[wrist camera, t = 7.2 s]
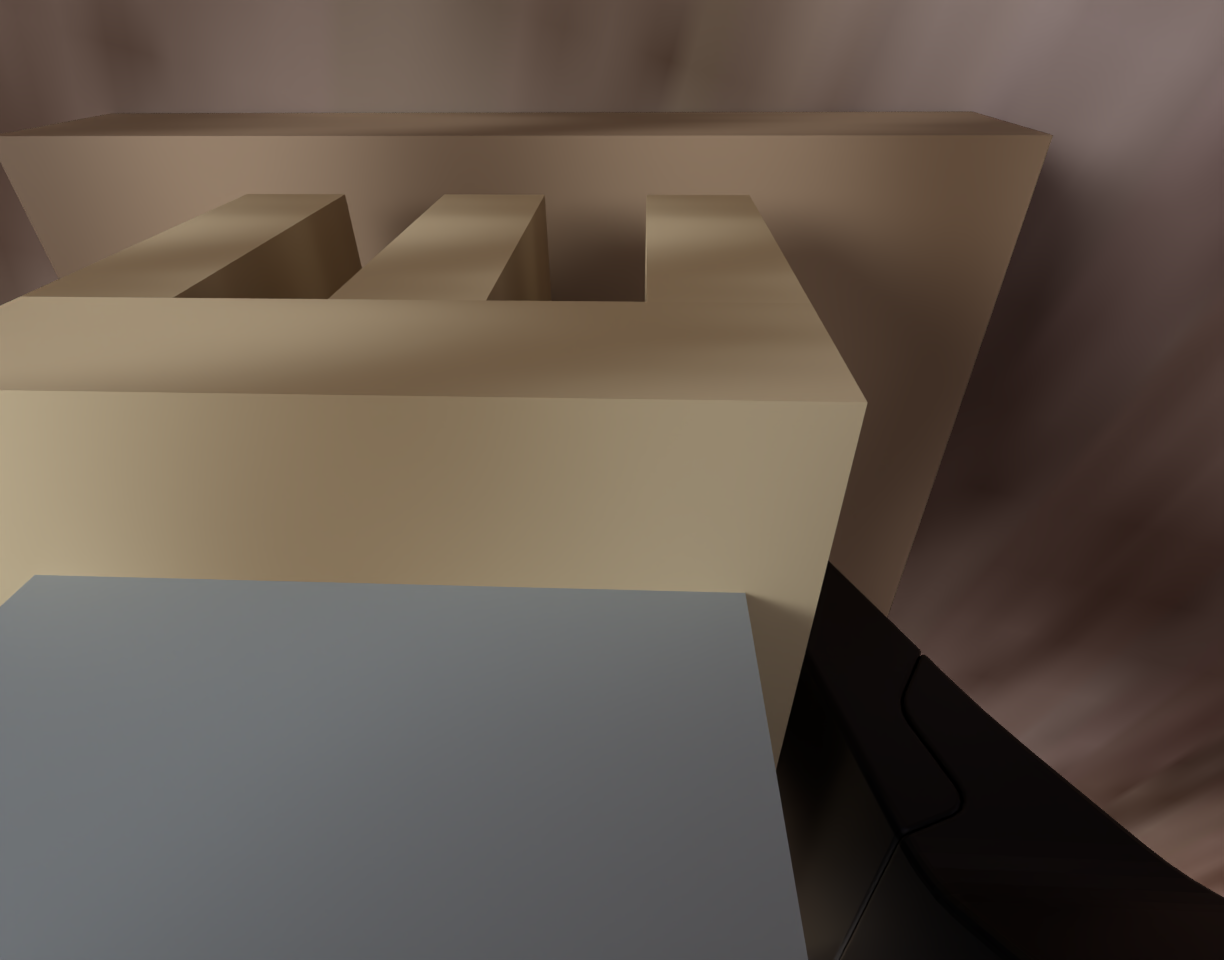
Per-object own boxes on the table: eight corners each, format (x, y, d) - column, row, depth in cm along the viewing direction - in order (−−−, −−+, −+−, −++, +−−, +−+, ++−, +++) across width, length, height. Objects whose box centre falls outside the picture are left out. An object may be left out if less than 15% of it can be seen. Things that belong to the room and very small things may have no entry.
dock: (972, 111, 10) (1053, 135, 8) (853, 543, 16) (885, 623, 14) (111, 113, 11) (-12, 136, 9) (275, 531, 16) (222, 606, 14)
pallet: (749, 195, 8) (867, 401, 4) (700, 649, 12) (727, 964, 8) (246, 193, 8) (-180, 387, 4) (385, 640, 13) (260, 942, 8)
